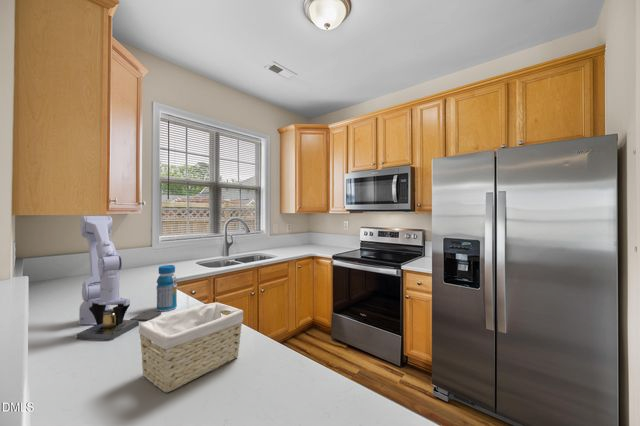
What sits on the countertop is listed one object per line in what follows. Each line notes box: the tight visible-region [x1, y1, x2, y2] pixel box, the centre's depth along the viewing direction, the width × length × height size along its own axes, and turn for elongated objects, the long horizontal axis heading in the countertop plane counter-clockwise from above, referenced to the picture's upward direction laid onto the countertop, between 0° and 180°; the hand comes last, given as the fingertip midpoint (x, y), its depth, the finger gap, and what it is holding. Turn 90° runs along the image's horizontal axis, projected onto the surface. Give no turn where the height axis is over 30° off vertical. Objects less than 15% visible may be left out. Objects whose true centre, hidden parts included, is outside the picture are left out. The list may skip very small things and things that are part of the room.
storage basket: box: [138, 302, 244, 393], centre depth 78 cm, size 24×16×15 cm
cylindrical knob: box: [103, 308, 116, 330], centre depth 101 cm, size 4×4×8 cm
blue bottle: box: [155, 264, 178, 312], centre depth 126 cm, size 8×8×20 cm
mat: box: [129, 311, 162, 322], centre depth 115 cm, size 8×8×1 cm
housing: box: [76, 319, 140, 341], centre depth 101 cm, size 13×13×2 cm
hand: (109, 324), depth 101 cm, fingers open, 7 cm apart
